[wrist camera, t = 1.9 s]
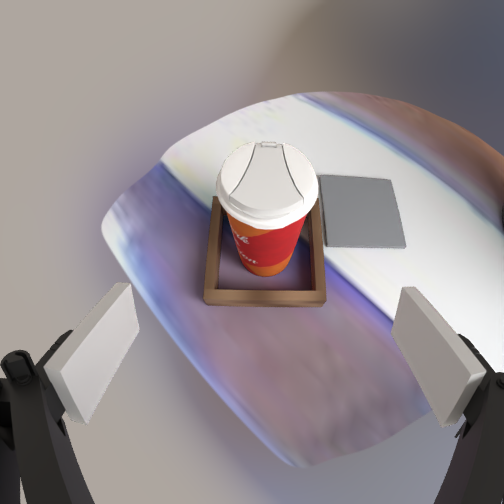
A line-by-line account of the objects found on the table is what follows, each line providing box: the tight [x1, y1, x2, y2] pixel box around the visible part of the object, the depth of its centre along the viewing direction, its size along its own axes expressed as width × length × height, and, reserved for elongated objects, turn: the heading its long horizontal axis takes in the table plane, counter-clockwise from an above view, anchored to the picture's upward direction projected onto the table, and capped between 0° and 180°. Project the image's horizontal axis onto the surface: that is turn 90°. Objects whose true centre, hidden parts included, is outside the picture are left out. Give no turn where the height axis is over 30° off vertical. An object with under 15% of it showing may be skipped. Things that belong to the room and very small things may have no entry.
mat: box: [320, 175, 406, 248], centre depth 36 cm, size 10×10×1 cm
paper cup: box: [216, 142, 318, 277], centre depth 28 cm, size 8×8×14 cm
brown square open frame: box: [203, 196, 326, 307], centre depth 33 cm, size 12×12×2 cm
